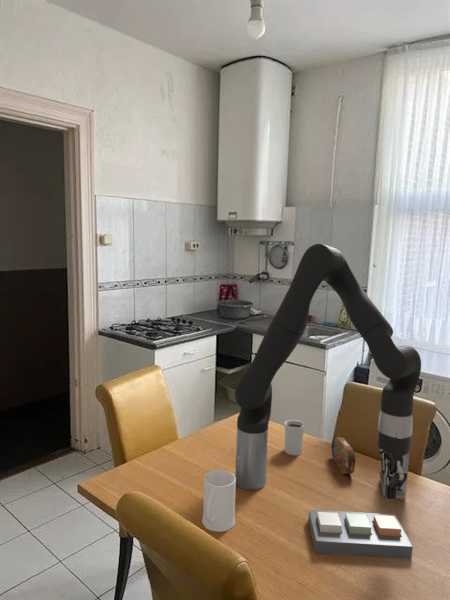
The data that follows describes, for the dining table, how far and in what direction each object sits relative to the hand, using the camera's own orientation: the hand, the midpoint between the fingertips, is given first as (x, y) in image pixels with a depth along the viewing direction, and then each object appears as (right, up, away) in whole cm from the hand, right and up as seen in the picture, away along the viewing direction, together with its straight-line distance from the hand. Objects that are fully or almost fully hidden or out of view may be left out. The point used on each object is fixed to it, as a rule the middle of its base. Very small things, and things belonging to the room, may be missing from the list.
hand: (390, 497), depth 105 cm
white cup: (-16, -5, +46) cm, 49 cm away
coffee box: (+10, -9, +24) cm, 27 cm away
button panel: (-8, -11, +2) cm, 13 cm away
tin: (-2, -7, +36) cm, 37 cm away
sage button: (-8, -9, +2) cm, 12 cm away
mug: (-42, -10, +5) cm, 44 cm away
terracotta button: (-1, -9, +1) cm, 10 cm away
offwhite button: (-15, -9, +2) cm, 17 cm away
